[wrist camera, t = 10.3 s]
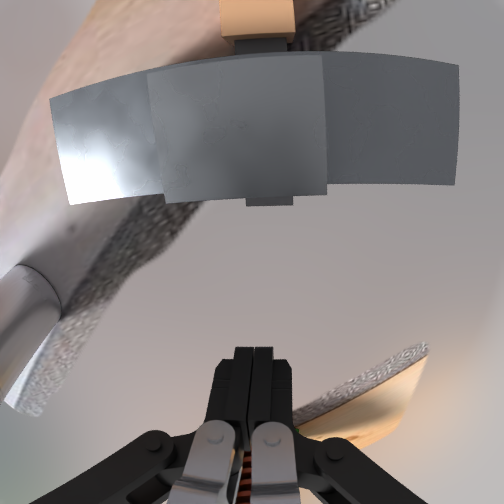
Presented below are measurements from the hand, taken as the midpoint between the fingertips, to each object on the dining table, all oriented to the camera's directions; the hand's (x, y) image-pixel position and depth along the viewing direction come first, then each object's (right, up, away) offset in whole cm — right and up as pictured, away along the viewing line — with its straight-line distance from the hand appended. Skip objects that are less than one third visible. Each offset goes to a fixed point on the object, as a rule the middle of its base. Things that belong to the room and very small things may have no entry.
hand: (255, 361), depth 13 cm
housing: (0, +15, +10) cm, 18 cm away
